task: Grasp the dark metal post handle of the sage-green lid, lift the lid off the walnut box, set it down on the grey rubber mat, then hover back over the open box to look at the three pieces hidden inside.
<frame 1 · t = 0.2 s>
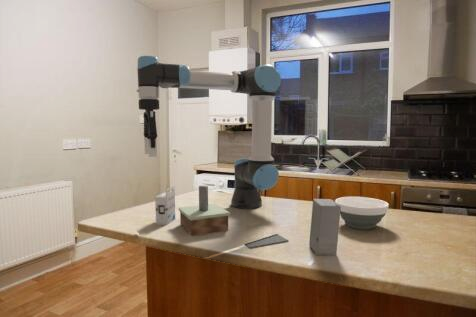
hand: (150, 155, 127), 28 cm above the worktop, fingers open, 13 cm apart
lid: (203, 212, 125), point 6 cm above the worktop, touching walnut box
bowl: (360, 226, 131), on the worktop
walnut box: (203, 229, 126), on the worktop
grey mat: (258, 237, 117), on the worktop
ink box: (165, 223, 133), on the worktop
skincare box: (323, 251, 105), on the worktop
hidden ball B: (194, 226, 127), point 1 cm above the worktop, touching walnut box
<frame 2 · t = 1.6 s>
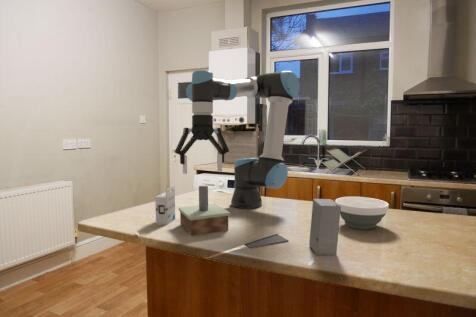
hand: (202, 172, 123), 22 cm above the worktop, fingers open, 13 cm apart
nothing on the worktop moved.
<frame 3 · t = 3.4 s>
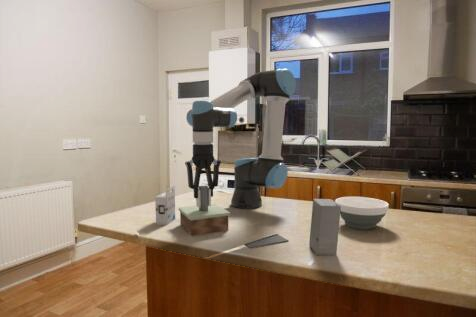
hand: (203, 205, 125), 9 cm above the worktop, fingers closed on lid, 3 cm apart
lid: (203, 212, 125), point 6 cm above the worktop, touching gripper, walnut box
everything else where it was.
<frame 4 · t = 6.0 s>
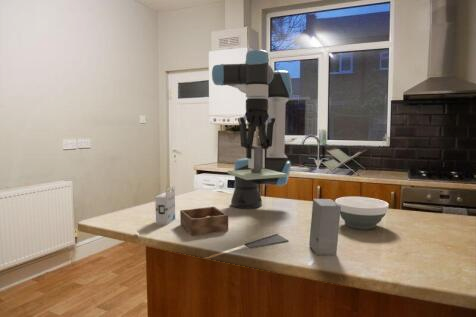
hand: (256, 167, 114), 25 cm above the worktop, fingers closed on lid, 3 cm apart
lid: (256, 175, 114), point 22 cm above the worktop, touching gripper
everything else where it was.
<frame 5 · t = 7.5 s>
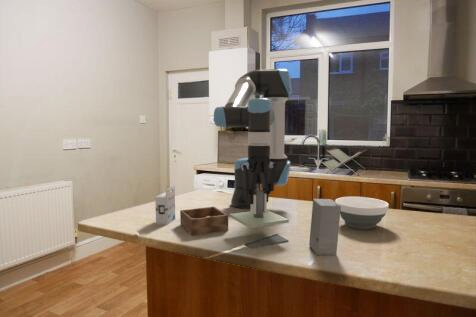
hand: (258, 212, 115), 9 cm above the worktop, fingers closed on lid, 3 cm apart
lid: (258, 219, 116), point 7 cm above the worktop, touching gripper
everything else where it was.
when the fingers open (4 cm above the worktop, at t = 8.6 s): lid drops 1 cm, resting on grey mat.
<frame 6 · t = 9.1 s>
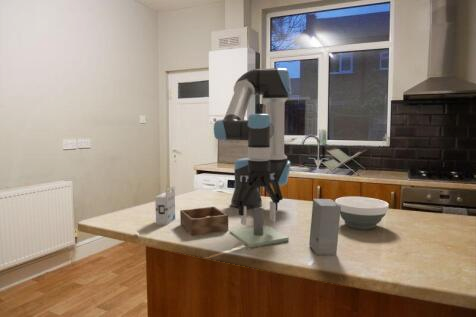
hand: (258, 222, 116), 6 cm above the worktop, fingers open, 11 cm apart
lid: (258, 236, 116), resting on grey mat
everything else where it was.
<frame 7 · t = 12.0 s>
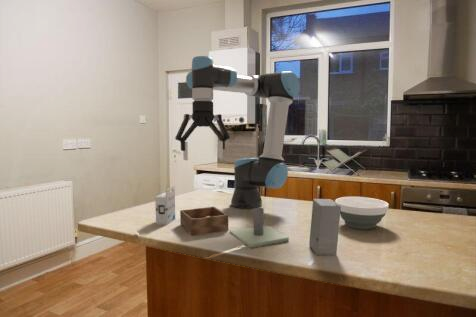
hand: (203, 159, 123), 27 cm above the worktop, fingers open, 13 cm apart
nothing on the worktop moved.
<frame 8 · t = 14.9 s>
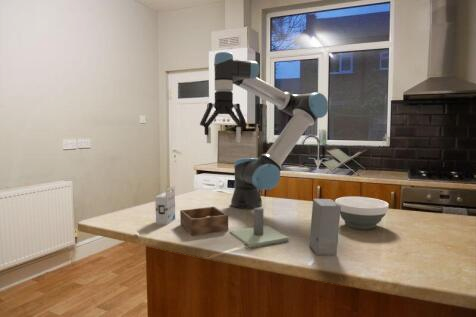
hand: (223, 142, 140), 32 cm above the worktop, fingers open, 13 cm apart
nothing on the worktop moved.
at the end: lid inside the target area on the grey mat (0.0 cm from its centre), point 0.4 cm above the grey mat's base; lid tilted 0°; the gripper is holding nothing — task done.
